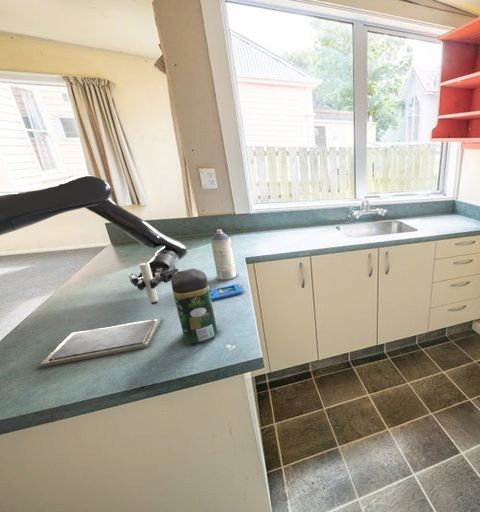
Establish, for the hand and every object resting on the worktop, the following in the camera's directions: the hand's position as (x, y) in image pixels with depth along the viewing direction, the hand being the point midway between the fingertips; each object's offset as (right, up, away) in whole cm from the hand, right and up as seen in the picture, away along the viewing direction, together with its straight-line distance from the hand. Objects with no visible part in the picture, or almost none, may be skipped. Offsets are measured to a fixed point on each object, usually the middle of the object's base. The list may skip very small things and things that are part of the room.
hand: (146, 286), depth 86 cm
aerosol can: (+5, 0, +35) cm, 36 cm away
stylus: (-1, -6, +5) cm, 8 cm away
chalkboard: (-4, -14, -8) cm, 16 cm away
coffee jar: (+19, -13, -4) cm, 23 cm away
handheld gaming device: (+10, -5, +20) cm, 23 cm away
